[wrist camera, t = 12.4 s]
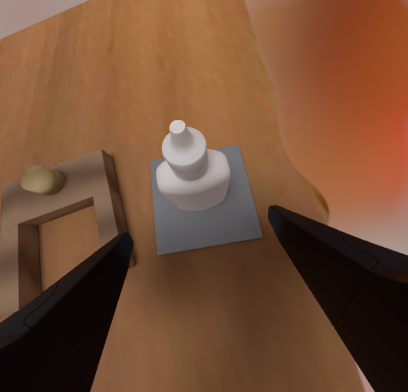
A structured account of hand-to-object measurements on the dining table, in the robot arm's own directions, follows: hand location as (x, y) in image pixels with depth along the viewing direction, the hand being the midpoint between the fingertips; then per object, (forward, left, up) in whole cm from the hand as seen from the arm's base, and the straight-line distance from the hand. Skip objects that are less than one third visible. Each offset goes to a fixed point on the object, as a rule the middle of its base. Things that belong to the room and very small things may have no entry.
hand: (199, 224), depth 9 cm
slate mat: (+2, -3, -8) cm, 9 cm away
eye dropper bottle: (+2, -3, -8) cm, 9 cm away
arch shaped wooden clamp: (+15, +8, -8) cm, 19 cm away
